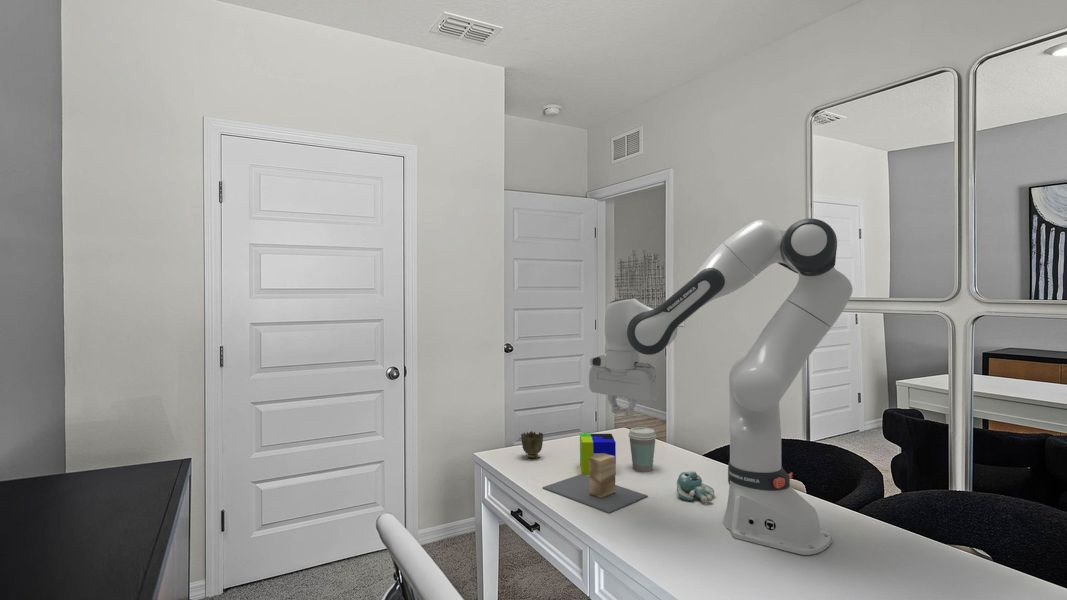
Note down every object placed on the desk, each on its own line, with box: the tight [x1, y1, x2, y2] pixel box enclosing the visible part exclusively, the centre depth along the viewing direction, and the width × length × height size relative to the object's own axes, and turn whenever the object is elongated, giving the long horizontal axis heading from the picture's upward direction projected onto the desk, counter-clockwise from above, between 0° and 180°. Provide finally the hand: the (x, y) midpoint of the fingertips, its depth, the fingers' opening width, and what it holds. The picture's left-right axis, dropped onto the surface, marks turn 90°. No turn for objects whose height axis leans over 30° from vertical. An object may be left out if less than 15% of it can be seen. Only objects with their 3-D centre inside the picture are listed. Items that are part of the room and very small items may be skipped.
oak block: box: [588, 453, 616, 499], centre depth 146 cm, size 4×6×10 cm, turn 132°
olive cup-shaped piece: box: [520, 430, 544, 460], centre depth 180 cm, size 8×7×8 cm
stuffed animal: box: [676, 470, 715, 504], centre depth 144 cm, size 11×7×12 cm
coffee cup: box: [628, 426, 657, 473], centre depth 168 cm, size 8×8×12 cm
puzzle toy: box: [579, 433, 617, 476], centre depth 167 cm, size 10×10×10 cm
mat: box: [542, 473, 649, 515], centre depth 148 cm, size 24×16×1 cm, turn 42°
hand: (622, 414), depth 141 cm, fingers open, 3 cm apart
